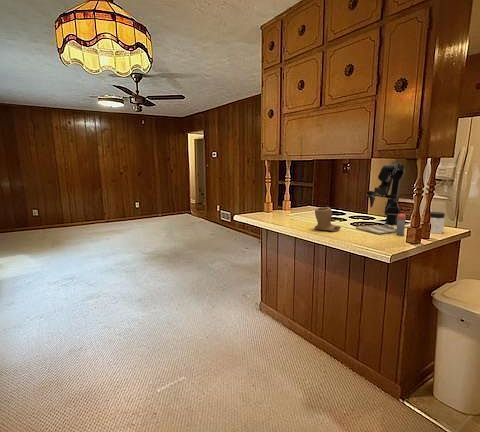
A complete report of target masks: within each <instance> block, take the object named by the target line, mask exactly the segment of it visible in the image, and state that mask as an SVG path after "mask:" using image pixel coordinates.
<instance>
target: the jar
mask: <svg viewBox="0 0 480 432" xmlns="http://www.w3.org/2000/svg"><path fill="white" fill-rule="evenodd" d="M430 212H431V234H439V233H441V234H443V233H444V229H445V219H446V218H445V215H446V213H445V212H443V211H430Z"/></svg>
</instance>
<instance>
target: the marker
mask: <svg viewBox="0 0 480 432" xmlns="http://www.w3.org/2000/svg"><path fill="white" fill-rule="evenodd" d="M406 217H407V216H406V214H405V213H400V214H398V216H397V225H396V229H397V230H396V233H395V235H396V236H398V237H404V236H405V226H406V225H405V224H406Z"/></svg>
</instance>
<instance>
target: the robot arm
mask: <svg viewBox="0 0 480 432" xmlns="http://www.w3.org/2000/svg"><path fill="white" fill-rule="evenodd" d="M405 174H406V169H405V165H402V163H401V162H400V161H392V162H391V163H390V164H388V165H383V166H382V167H381V169H380V172H379V174H378V175H377V178H378V180H379V181H380V184H379V185H378V186H375V187H374V190H367V191H365V195H366V196H367V197H368V198H369V203H370V204H369V206H370V208H373V205H374V203H375V201H376V197H379V198H383V199H384V198H385V199H387V202H386V205H385V207H384V216H386V222H384V225H385V224H386V225H388V226H389V225H390V226H397V216H398V214H401V209H400V205H399V204H398V202H399V201H400V196H399V190H400V184H401V181H402V180H403V179H404V175H405ZM389 193H390V194H389Z"/></svg>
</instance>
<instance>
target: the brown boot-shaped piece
mask: <svg viewBox="0 0 480 432" xmlns="http://www.w3.org/2000/svg"><path fill="white" fill-rule="evenodd" d="M332 210H333V209H332V208H331V207H329V206H326V207H323V206H321V207H317V208H315V210H314V217H315V219H316V222H317V225H315V226H314V229H315V230H321V231H328V232H337V231H339V230H340V229H341V228H342V227H341V226H340V225H335V224H332V223H331V222H332V216H333V211H332Z"/></svg>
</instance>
